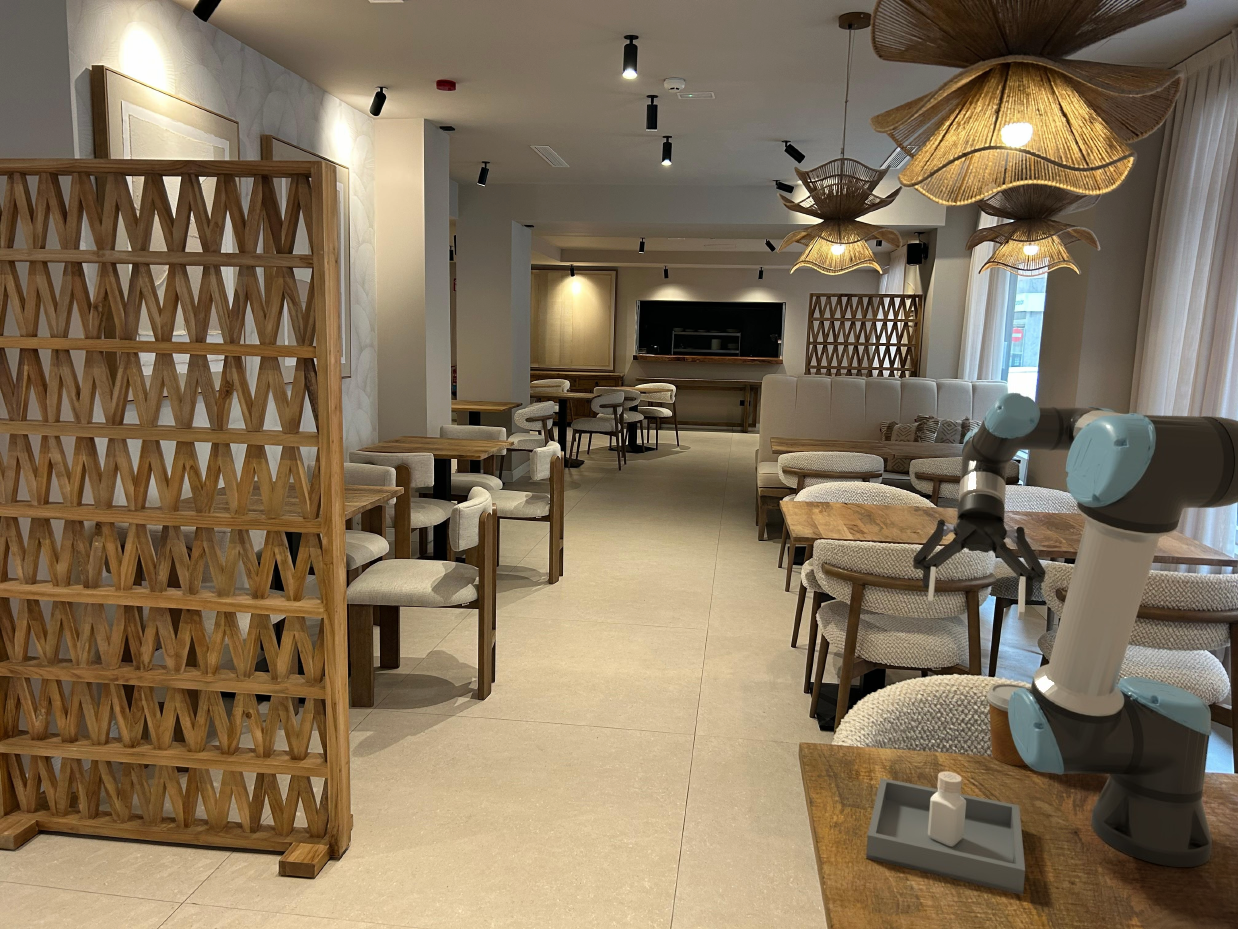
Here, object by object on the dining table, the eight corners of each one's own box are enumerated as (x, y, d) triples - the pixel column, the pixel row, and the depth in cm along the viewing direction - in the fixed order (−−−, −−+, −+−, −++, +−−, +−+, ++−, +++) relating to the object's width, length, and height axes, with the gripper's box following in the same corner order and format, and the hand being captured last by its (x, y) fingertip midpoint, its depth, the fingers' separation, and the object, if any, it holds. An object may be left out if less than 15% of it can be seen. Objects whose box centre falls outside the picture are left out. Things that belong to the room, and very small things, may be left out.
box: (1017, 827, 130) (1018, 805, 129) (1022, 895, 113) (1025, 870, 113) (879, 798, 137) (880, 778, 137) (866, 858, 121) (867, 835, 120)
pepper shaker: (925, 838, 125) (930, 776, 124) (938, 827, 128) (943, 767, 127) (952, 849, 122) (957, 786, 121) (964, 839, 125) (969, 777, 124)
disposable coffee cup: (1047, 773, 147) (1053, 706, 146) (988, 766, 149) (993, 700, 147) (1032, 748, 156) (1038, 685, 155) (976, 742, 158) (982, 680, 157)
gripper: (1058, 523, 149) (1058, 632, 137) (906, 510, 158) (894, 611, 146) (1063, 497, 143) (1064, 608, 131) (906, 485, 153) (893, 588, 141)
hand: (974, 610), depth 139 cm, fingers open, 13 cm apart
